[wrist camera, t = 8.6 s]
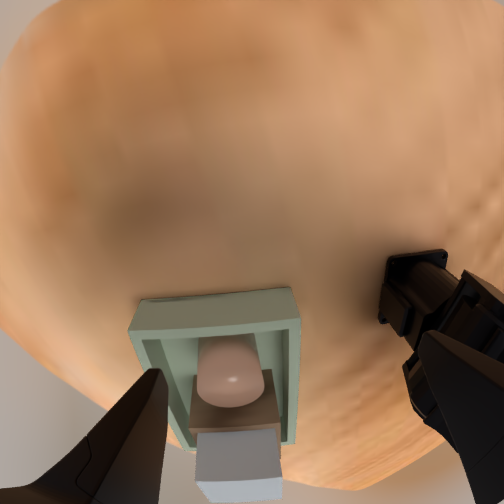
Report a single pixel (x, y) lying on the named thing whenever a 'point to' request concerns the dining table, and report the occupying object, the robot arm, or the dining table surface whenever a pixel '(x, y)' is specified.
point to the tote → (219, 324)
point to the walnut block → (236, 413)
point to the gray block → (239, 466)
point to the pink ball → (229, 370)
